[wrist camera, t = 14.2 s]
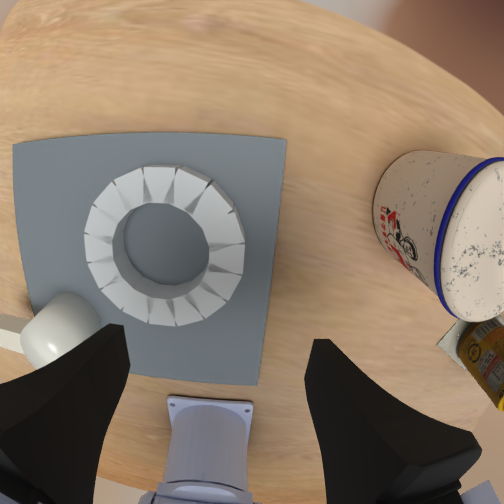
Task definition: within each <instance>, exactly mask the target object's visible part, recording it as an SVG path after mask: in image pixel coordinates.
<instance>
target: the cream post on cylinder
mask: <svg viewBox="0 0 504 504" xmlns="http://www.w3.org/2000/svg"><path fill="white" fill-rule="evenodd" d="M100 329H101V322H100V319H99V316H98V314H97V313H96V311H95V309H94V308H93V307H92V306H91V305H90V303H89V302H87V301H86V300H85V299H84V298H82V297H81V296H79V295H77V294H74V293H71V292H62V293H59V294H57V295H56V296H55V297H54V298H53V299H52V300H51V301H50V302H49V303H48V304H47V305H46V306H45V307H44V308H43V309H42V310H41V311H40V312H39V313H38V314H37V315H36V316H35V317H34V318H33V319H32V320H30V319H25V318H21V317H16V316H12V315H8V314H4V313H2V314H1V315H0V347H3V348H6V349H9V350H12V351H15V352H18V353H22V354H25V355H26V357H27V359H28V360H29V361H30V363H31V364H32V365H33V366H34V367H35V368H36V369H39V368H41V367H43V366H45V365H47V364H49V363H51V362H52V361H54V360H56V359H57V358H59V357H60V356H62V355H64V354H65V353H67V352H68V351H70V350H71V349H73V348H74V347H76V346H77V345H79V344H80V343H82V342H83V341H84V340H86V339H87V338H89V337H90V336H91V335H93V334H94V333H96V332H97V331H98V330H100Z"/></svg>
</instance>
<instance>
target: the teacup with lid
mask: <svg viewBox="0 0 504 504" xmlns="http://www.w3.org/2000/svg"><path fill="white" fill-rule="evenodd" d="M373 217H374V225H375V229H376V233H377V236H378V238H379V240H380V242H381V244H382V245H383V247H384V248H385V249H386V251H387V252H388V253H389V254H390V255H391V256H393V257H394V258H395V259H396V260H397V261H399V262H400V263H401V264H402V265H403V266H404V267H406V268H407V269H408V270H409V271H410V272H411V273H413V274H414V275H415V276H416V277H417V278H418V279H419V280H420V281H422V282H423V283H424V284H425V285H426V286H427V287H428V288H429V289H431V290H432V291H433V292H434V293H435V294H436V295H437V296H438V297H439V299H440V301H441V303H442V305H443V306H444V308H445V309H446V310H447V311H448V312H449V313H450V314H451V315H453V316H454V317H456V318H458V319H461V320H465V321H469V322H481V321H485V320H488V319H491V318H493V317H495V316H497V315H499V314H500V313H502V312H503V311H504V158H503V157H495V158H490V159H483V158H478V157H472V156H465V155H459V154H451V153H444V152H436V151H427V150H419V151H413V152H410V153H407V154H405V155H403V156H401V157H400V158H398V159H397V160H396V161H395V162H394V163H393V164H392V165H391V166H390V167H389V168H388V169H387V170H386V172H385V173H384V175H383V177H382V179H381V180H380V183H379V185H378V188H377V191H376V194H375V199H374V207H373Z"/></svg>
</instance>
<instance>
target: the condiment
mask: <svg viewBox="0 0 504 504" xmlns="http://www.w3.org/2000/svg"><path fill="white" fill-rule="evenodd" d="M458 334H459V336H458ZM458 337H459V338H458ZM457 338H458V340H457ZM437 345H438V346H439V347H440V348H441V349H443V350H444V351H445V352H446V353H447V354H448V355H449V356H450V357H451V358H452V359H454V360H455V361H456V362H457V363H458V364H459V365H460V366H461V367H462V368H463V369H464V370H466V369H468V371H469V372H470V373H471V375H472V376H473V377H474V379H476V381H477V382H478V384H479V385H480V386H481V388H482V389H483V390H484V391H485V392H486V393H487V395H488V396H489V398H490V399H491V400H492V402H493V403H494V405H495V406H496V408H497V409H498V410H500V411H504V321H503V319H502V318H501V316H500V314H499V315H497V316H495V317H493V318H491V319H488V320H485V321H481V322H469V321H465V320H461V319H459V320H457V321H456V324H455V325H454V326H453V328H452V329H451V330H450V331H449V332H448V333H447V334H446V335H445V336H444V338H443V339H442V340H441V341H440V342H439V343H438V344H437Z"/></svg>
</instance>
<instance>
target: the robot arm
mask: <svg viewBox="0 0 504 504" xmlns="http://www.w3.org/2000/svg"><path fill="white" fill-rule="evenodd" d="M130 366H131V364H130V359H129V354H128V348H127V343H126V337H125V331H124V325H119V324H112V323H109V324H107V325H106V326H104V327H103V328H101V329H100V330H98V331H97V332H96V333H94V334H93V335H91V336H90V337H89V338H87V339H86V340H84V341H83V342H82V343H80V344H79V345H77V346H76V347H74V348H73V349H71V350H70V351H68V352H67V353H65V354H64V355H62V356H60V357H59V358H57V359H56V360H54V361H52V362H51V363H49V364H47V365H45V366H43V367H41V368H39V369H37V370H35V371H33V372H31V373H29V374H27V375H24V376H22V377H19V378H17V379H14V380H11V381H9V382H5V383H2V384H0V504H93V495H94V487H95V480H96V474H97V468H98V463H99V458H100V454H101V449H102V445H103V441H104V438H105V435H106V432H107V429H108V426H109V424H110V421H111V419H112V416H113V414H114V412H115V409H116V407H117V405H118V402H119V400H120V397H121V395H122V393H123V390H124V388H125V385H126V381H127V378H128V374H129V370H130ZM304 380H305V389H306V396H307V402H308V405H309V409H310V413H311V417H312V420H313V424H314V427H315V431H316V435H317V438H318V442H319V446H320V450H321V455H322V462H323V469H324V478H325V487H326V499H327V504H501V503H500V501H499V499H498V497H497V495H496V493H495V491H494V489H493V487H492V486H491V483H490V481H489V480H487V481H485V482H483V483H481V484H479V485H478V486H476V487H474V488H472V489H470V490H468V491H466V492H465V493H463V494H462V495H460V494H459V492H458V489H460V488H461V483H460V481H459V479H460V478H461V477H462V476H463V475H464V474H465V473H466V472H467V471H468V470H469V469H470V468H471V467H472V466H473V465H474V464H475V463H476V461H477V460H478V459H479V457H480V456H481V452H482V449H481V447H480V445H479V444H478V442H477V440H476V439H475V437H474V435H473V434H472V432H470V431H467V430H463V429H460V428H457V427H454V426H450V425H447V424H445V423H442V422H440V421H437V420H435V419H433V418H430V417H428V416H426V415H424V414H422V413H420V412H418V411H417V410H415V409H413V408H411V407H409V406H408V405H406V404H404V403H403V402H401V401H399V400H398V399H397V398H395V397H394V396H392V395H391V394H389V393H388V392H386V391H385V390H384V389H382V388H381V387H380V386H379V385H378V384H376V383H375V382H374V381H373V380H372V379H370V378H369V377H368V376H367V375H366V374H365V373H364V372H362V371H361V370H360V369H359V368H358V367H357V366H356V365H355V364H354V363H353V362H352V361H351V360H350V359H349V358H348V357H347V356H346V355H345V354H344V353H343V352H342V351H341V350H340V349H339V348H338V347H337V346H336V345H335V344H334V343H333V342H332V341H331V340H330V339H314V341H313V346H312V350H311V354H310V358H309V362H308V365H307V369H306V373H305V377H304ZM167 404H168V410H169V417H170V422H171V428H172V434H171V439H170V444H169V449H168V455H167V460H166V466H165V472H164V477H163V483H161V482H159V483H158V487H157V492H154V491H148V492H147V493H146V494H144V495H143V496H142V497H141V498H140V500H139V502H138V504H262V503H260V502H253V493H252V492H248V471H247V446H248V440H249V433H250V427H251V420H252V413H253V403H251V402H245V401H225V400H211V399H199V398H189V397H180V396H168V398H167ZM247 409H248V410H247Z"/></svg>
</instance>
